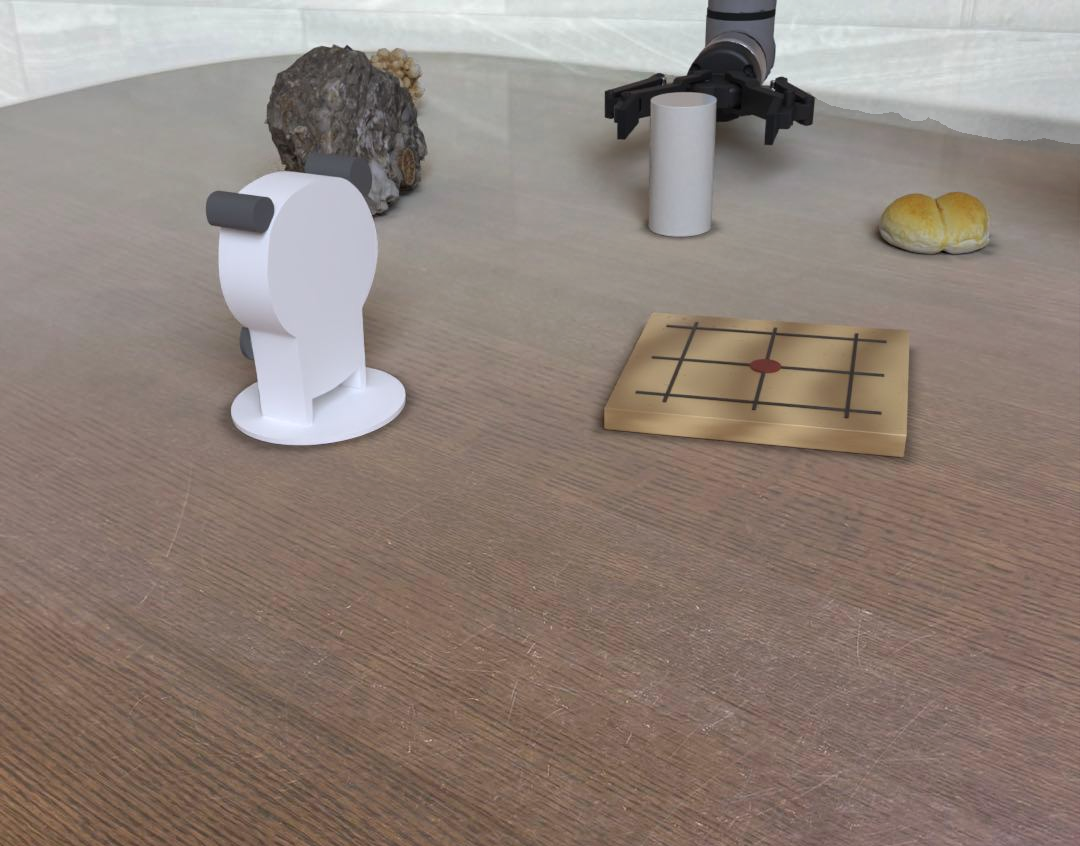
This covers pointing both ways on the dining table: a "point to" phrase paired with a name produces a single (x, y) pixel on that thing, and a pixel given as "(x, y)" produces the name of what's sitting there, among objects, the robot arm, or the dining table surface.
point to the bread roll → (936, 223)
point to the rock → (348, 119)
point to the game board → (766, 384)
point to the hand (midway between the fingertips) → (694, 127)
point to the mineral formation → (401, 70)
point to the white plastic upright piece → (304, 302)
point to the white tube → (681, 163)
